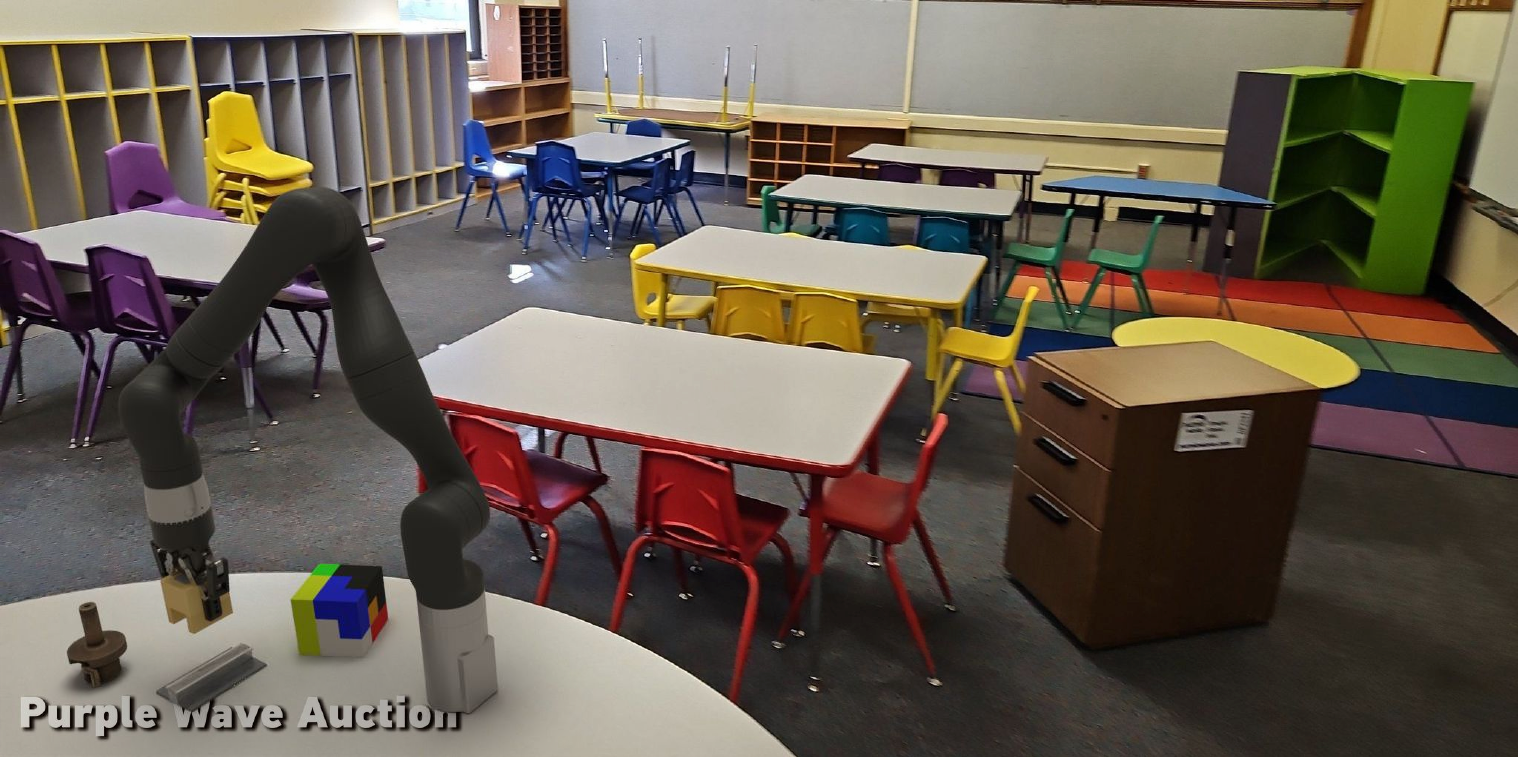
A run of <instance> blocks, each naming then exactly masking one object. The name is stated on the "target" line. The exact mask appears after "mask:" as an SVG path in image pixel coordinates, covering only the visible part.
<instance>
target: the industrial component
mask: <svg viewBox="0 0 1518 757" xmlns="http://www.w3.org/2000/svg"><path fill="white" fill-rule="evenodd" d="M78 612H79V615H80V616H79V617H80V620H81V625H82V629H83V633H84V635H83V636H82V637H80V638H78V639H77V640H74V641H73V642H72V643H71V644H70V645H69V647H68V648H67V650H66V655H67V660H68V664H69V665H75V664H80V665H81V666H80V668H81V673H83V679H84V681H85V683H87V684H86V685H89V683H91V684H92V687H93V688H96V687H99V686H102V685H103V684H105V683H108V682H110V681H112V680H114V679H116V678H117V677H118V676H119V675H120V674H121V672H122V671H123V668H122V665H121V660H120V659H121V657H122V656H123V655H124V654H125V653H126V651H127V650H128V643H127V639H126V635H125V634H124V632H121V631H118V630H114V629H113V630H103V628H102V624H101V618H100V614H99V611H98V607H97V603H96V602H94V601H88V602H84V603H82V604H80V605H79V607H78Z"/></svg>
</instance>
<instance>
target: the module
mask: <svg viewBox="0 0 1518 757" xmlns="http://www.w3.org/2000/svg"><path fill="white" fill-rule="evenodd" d="M204 575H206V573H205V572H203V573H201V574H199V575H197V576H196V577H197V578H200V577H202V576H204ZM159 582H160V586H161V592H162V595H163V600H164V605H165V610H166V615H167V619H168V623H170V624H172V625H175V624H177V623H179V622H181V621H183V620H185V619H186V623H187V628H188V632H189V633H191V634H192V635H195V634H197V633H199V632H202V631H203V630H204V629H207V628H208V627H210V626H212V625H214V624H215V623H217V622H219V621H221V620H223V619H224V618H226V617H228V616H230V615H231V614H234V609H233V606H232V605H233V604H232V600H231V594H230V591H229V592H228V593H226V594H224V595H222V596H220V601H221V607H222V612H223V613H222V615H221V616H220V617H218V618H217V619H215V620H213V621H208V620H206V619H205V615H204V610H203V605H202V600H201V599H202V598H201V596H200V593H199V588H198V586H192V585H191V583H190V581H189V579H188V577H187V574H186V573H182V572H180V573H178V574H176V575H174V576H171V575H169V576H167V577H165V578H160V580H159ZM204 586H205V588H206V590H208V588H207V582H205V583H204ZM220 586H221V584H220Z"/></svg>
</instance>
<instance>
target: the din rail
mask: <svg viewBox="0 0 1518 757" xmlns="http://www.w3.org/2000/svg"><path fill="white" fill-rule="evenodd" d="M253 650H254V648H253V647H252V646H250V645H248V644H245V643H243V642H240V643H238V644H237V645H235V646H233V647H232V646H230V647H229V648H228V649H225V650H224V651H222V652H220V653H218V654H217V655H215V656H214V657H212V658H210V659H209V660H207V661H205V662H203V663H201V664H200V665H199V666H197V667H195V668H193V669H191V670H190V671H188V672H186V673H184V674H183V675H181V676H179V677H177V678H175V679H174V680H172V681H171V682H169V683H167V684H166V685H164V686H162V687H161V688H159V689H156V690H155V694H157V695H159V696H160V697H163V698H164V699H166V700H168V701H169V702H172V703H174V704H176V705H177V706H179V707H181V708H183V709H185V710H186V711H189V712H191V713H193V712H195V711H196V710H198V709H200V708H201V707H203V706H204V705H206V704H208V703H210V702H211V701H213V700H215V699H216V698H218V697H219V696H220V694H221V695H222V694H224V693H225V692H227V691H229V690H230V689H232V688H234V687H235V686H237V685H239V684H240V683H241V681H242V680H243V681H244V679H245V678H246V679H248V678H249V677H248V676H250V675H251V676H253V675H254V674H256V673H257V671H258V672H259V671H261V670H262V669H264V668H266V667H267V666H268V664H267V663H266V662H264V661H262V660H260V659H258V658H256V657H254V655H253ZM255 672H256V673H255ZM252 674H253V675H252ZM251 676H250V677H251ZM247 677H248V678H247ZM246 679H245V680H246ZM243 681H242V682H243ZM239 682H240V683H239ZM234 685H235V686H234ZM212 699H213V700H212ZM207 702H208V703H207Z"/></svg>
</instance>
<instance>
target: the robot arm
mask: <svg viewBox="0 0 1518 757" xmlns="http://www.w3.org/2000/svg"><path fill="white" fill-rule="evenodd" d="M367 240H368V239H367V238H366V234H365V231H364V229H363V226H362V222H361V219H360V217H359V214H358V212H357V209H356V208H355V207H354V205H353V204H352V202H351V201H350V200H349V199H348V198H347V197H346V196H345V195H343V194H342V193H340V192H339V191H338V190H335V189H334V188H330V187H327V186H326V187H324V186H316V187H311V186H310V187H302V188H294V189H291V190H288V191H284V192H283V193H282V194H280V195H278V196H277V197H276V198H275V199H274V200H273V201H272V202H271V204H270V205H269V206H268V208H267V210H266V212H265V213H264V215H263V216H262V218H261V220H260V221H259V223H258V224H257V227H256V228H255V230H254V231H253V233H252V235H251V236H250V238H249V240H248V241H247V243H246V245H245V247H244V248H243V250H242V251H241V253H239V256H238V257H237V258H236V260H235V261H234V263H233V264H232V265H231V267H230V268H229V269H228V271H227V272H226V274H225V275H224V276H223V277H222V279H221V280H220V281H219V283H218V284H216V286H215V287H214V288H213V290H212V291H211V292H210V293H209V294H208V295H207V297H205V298H204V300H202V302H201V303H200V304H199V305H198V306H197V307H196V309H195V310H193V311H192V312H191V314H190V315H189V316H188V317H187V319H186V320H184V322H183V323H182V324H181V325H180V326H179V327H178V329H177V330H176V331H175V332H174V334H173V335H172V336H171V337H170V339H169V340H168V342H167V343H166V344H167V345H166V346H165V348H164V349H163V350H162V351H161V352H160V353H159V354H158V355H157V356H156V357H155V358H154V359H153V360H152V361H151V362H150V363H149V364H148V365H147V366H146V367H145V368H144V369H143V370H142V371H141V372H140V373H138V375H136V376H135V377H134V378H133V379H132V380H131V381H130V382H129V383H128V384H127V385H126V386H124V388H123V389H122V390H121V392H120V395H119V398H118V404H117V405H118V409H117V410H118V416H119V420H120V423H121V426H122V428H123V430H124V433H125V434H126V436H127V438H128V440H129V442H130V444H131V446H132V447H133V449H134V451H135V452H136V454H137V456H138V461H139V462H138V463H139V468H140V472H141V477H142V481H143V487H144V501H145V507H146V511H147V515H148V519H149V520H148V521H149V526H150V530H151V534H152V535H151V536H152V539H151V540H149V541H150V542H149V543H150V547H151V550H152V553H153V556H154V559H155V563H156V566H157V569H158V572H159V575H160V577H161V579H163V578H165V577H167V576H169V575H171V576H174V575H176V574H178V573H180V572H182V573H186V574H187V577H188V579H189V581H190V583H191V585H192V586H198V588H199V593H200V596H201V598H202V599H201V600H202V605H203V610H204V615H205V619H206V620H208V621H213V620H215V619H217V618H218V617H220V616H221V615H222V613H223V612H222V607H221V601H220V596H222V595H224V594H226V593H228V592H229V593H230V574H229V561H228V559H227V557H225V556H224V557H220V558H219V559H218V558H216V557H215V556H214V553H213V550H212V548H211V546H210V543H209V542H210V540H211V538H212V537H213V536H214V534H215V532H216V525H215V519H214V515H213V514H214V513H213V508H212V502H211V498H210V497H211V496H210V492H209V487H208V482H207V481H206V478H205V475H204V472H203V465H202V461H201V456H200V455H201V454H200V449H199V446H198V443H197V441H196V438H194V436H193V435H191V434H190V433H187V432H184V431H183V427H182V424H181V414H182V413H183V412H184V411H185V410H186V409H187V408H188V407H189V406H190V404H192V402H193V401H194V399H195V398H197V396H198V395H199V393H201V391H202V390H203V389H204V388H205V386H206V385H207V383H209V382H210V379H211V378H212V377H213V376H214V375H216V374H217V373H218V372H220V371H221V370H222V369H223V368H224V367H225V366H226V365H227V364H228V363H229V361H230V360H231V359H232V358H233V357H234V356H235V355H236V354H237V352H238V351H239V350H240V349H241V348H242V347H243V346H244V345H245V343H246V342H247V341H248V340H249V338H250V337H251V336H252V335H253V333H254V332H255V330H256V328H257V327H258V325H259V324H260V322H261V320H262V319H263V316H264V315H265V313H266V311H267V308H268V307H269V305H270V304H271V302H273V300H274V298H276V296H277V295H278V294H279V293H280V292H281V290H283V288H284V287H285V286H286V285H287V284H289V282H291V281H292V280H293V279H294V278H295V277H297V276H298V275H300V274H301V273H302V272H303V271H304V270H306V269H307V268H308V267H310V266H311V265H312V267H313V269H314V271H315V273H316V274H317V275H316V276H317V277H318V279H319V280H320V282H321V285H322V287H323V288H324V291H325V293H326V296H327V298H328V302H329V305H330V309H331V314H332V320H333V330H334V336H335V337H334V338H335V339H334V340H335V345H336V346H335V347H336V353H337V358H338V360H339V366H340V368H341V371H342V374H343V376H344V378H345V380H346V382H347V385H348V386H349V389H350V391H351V393H352V395H353V397H354V399H355V401H356V404H357V406H358V407H359V409H360V410H361V412H362V413H363V414H364V416H366V418H367V419H368V420H369V421H370V422H372V423H373V425H375V426H376V427H378V428H379V429H380V430H382V431H383V432H384V433H386V435H388V436H390V437H392V439H394V440H395V441H397V442H398V443H400V445H401V446H403V447H404V448H405V449H406V451H408V452H409V453H410V455H411V456H412V458H413V459H414V460H415V463H416V465H417V466H418V468H419V471H421V474H422V476H423V479H424V481H425V483H426V485H427V489H426V490H425V491H424V492H422V493H421V494H420V495H418V496H417V497H415V498H414V499H412V500H411V501H410V502H408V503H407V505H406V506H404V508H403V510H402V513H401V515H400V516H401V518H400V526H399V528H400V537H401V544H402V550H403V556H404V561H405V567H406V571H407V577H408V578H409V581H410V582H411V583H410V584H411V585H412V587H413V588H414V591H415V597H416V604H417V606H416V607H417V615H418V616H417V617H418V625H419V627H418V628H419V633H420V634H419V635H420V645H421V653H422V654H421V655H422V663H423V665H422V666H423V671H424V672H423V673H424V682H425V691H426V698H427V699H426V700H427V701H428V703H429V705H430V706H432V708H434V709H436V710H439V711H441V712H446V713H447V712H448V713H456V712H457V713H458V712H461V713H462V712H463V713H466V714H470V713H472V712H473V711H474V710H476V709H477V708H478V707H479V706H480V705H482V704H483V703H484V702H485V701H487V699H489V698H490V697H491V696H493V695H494V694H496V692H498V690H499V687H498V685H499V684H498V674H497V673H498V672H497V660H496V648H495V646H496V645H495V637H494V636H493V635H491V634H489V627H488V626H489V624H488V614H487V612H488V611H487V601H486V600H487V598H486V586H485V584H486V583H485V576H484V575H485V574H484V571H483V568H482V567H481V566H480V565H479V564H477V563H476V562H475V561H472V560H469V559H466V558H465V559H464V557H463V556H464V555H463V549H464V548H465V547H466V546H467V545H469V544H470V543H471V542H472V541H473V540H474V539H476V538H477V537H478V536H479V535H481V533H483V532H484V531H485V530H486V528H487V527H488V525H489V523H490V519H491V509H490V504H489V500H488V497H487V495H486V493H485V491H484V488H483V486H482V485H481V482H479V480H478V477H477V475H476V474H475V473H474V471H473V469H472V467H471V466H470V464H469V463H468V461H467V459H466V457H465V454H464V453H463V452H462V450H461V449H460V447H459V445H458V444H457V441H456V440H455V438H454V436H453V433H452V432H451V430H450V428H449V426H448V424H447V421H446V419H445V418H444V415H443V413H442V411H441V409H440V406H439V405H438V402H437V400H436V399H435V397H434V395H433V392H432V391H431V388H430V385H429V383H428V381H427V377H426V375H425V372H424V370H423V368H422V366H421V363H420V361H419V359H418V357H417V354H416V352H415V350H414V348H413V346H412V344H411V342H410V340H409V338H408V336H407V334H406V332H405V330H404V328H403V325H402V323H401V320H400V319H399V317H398V314H397V312H396V310H395V308H394V306H393V303H392V301H391V299H390V298H389V296H388V294H387V291H386V290H385V286H384V285H383V283H382V281H381V278H380V276H379V273H378V270H377V268H376V264H375V262H374V259H373V255H372V253H371V250H370V247H369V243H368V241H367ZM166 562H167V563H166ZM203 572H205V573H206V575H204V576H202V577H200V578H197V577H196V576H197V575H199V574H201V573H203ZM205 582H207V588H208V590H206V588H205V586H204V583H205ZM220 584H221V586H220Z"/></svg>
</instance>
